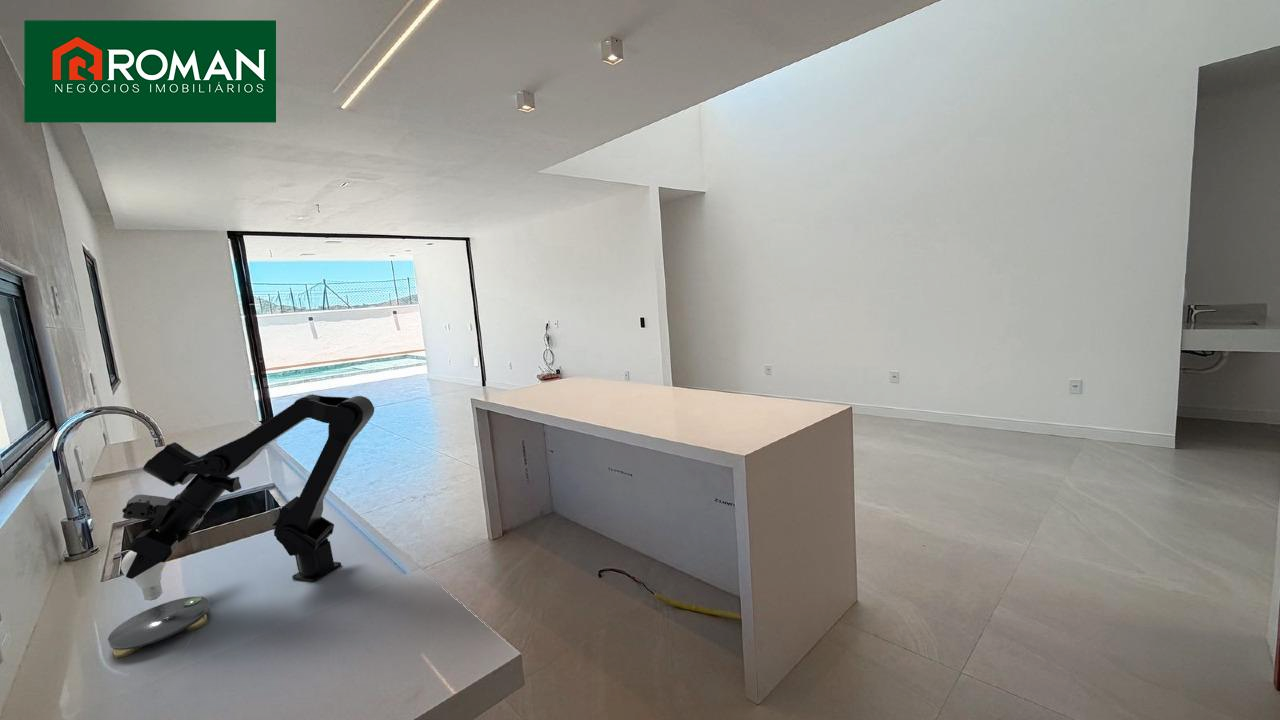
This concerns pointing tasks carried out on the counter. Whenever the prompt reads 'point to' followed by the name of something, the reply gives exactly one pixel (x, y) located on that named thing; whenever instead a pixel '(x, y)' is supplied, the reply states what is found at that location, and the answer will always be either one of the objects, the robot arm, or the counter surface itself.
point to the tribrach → (158, 624)
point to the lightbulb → (145, 577)
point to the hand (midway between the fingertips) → (136, 569)
